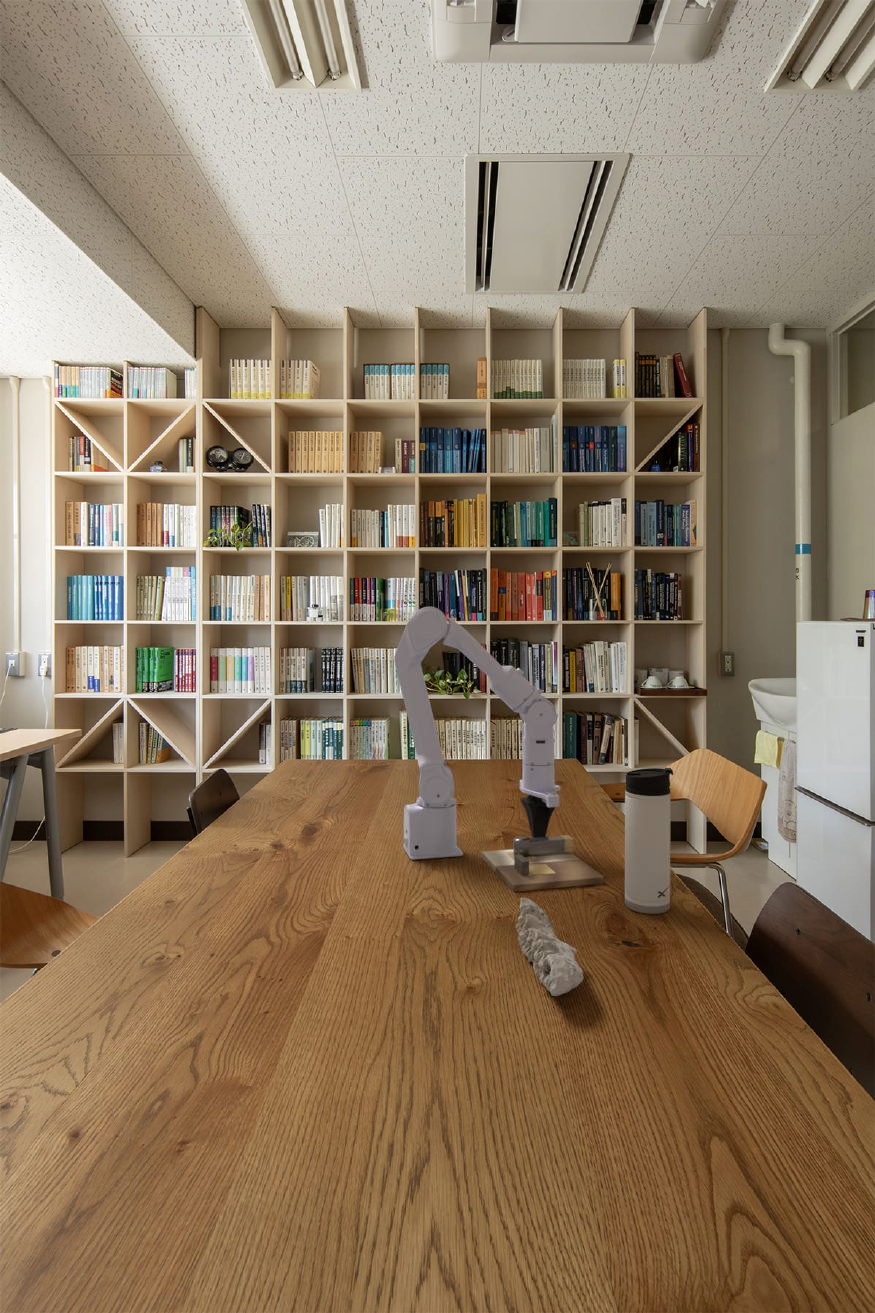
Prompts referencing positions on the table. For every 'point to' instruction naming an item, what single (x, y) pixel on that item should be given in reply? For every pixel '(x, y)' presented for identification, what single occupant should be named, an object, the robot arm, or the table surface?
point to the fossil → (547, 950)
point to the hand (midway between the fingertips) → (538, 837)
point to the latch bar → (542, 845)
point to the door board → (541, 870)
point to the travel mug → (647, 840)
